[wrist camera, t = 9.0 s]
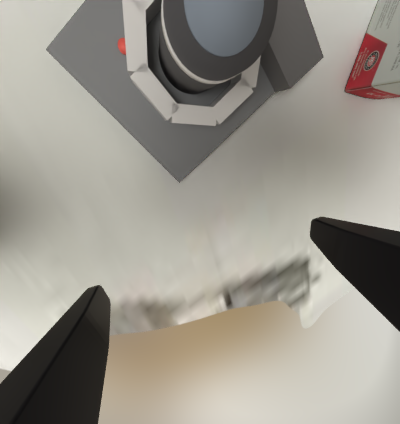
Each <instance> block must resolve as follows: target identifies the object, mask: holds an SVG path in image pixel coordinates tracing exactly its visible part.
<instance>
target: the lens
mask: <svg viewBox="0 0 400 424" xmlns="http://www.w3.org/2000/svg"><path fill="white" fill-rule="evenodd" d="M277 7H278V0H162V4H161V27H160V37H159V49H158V52H159V61H160V65H161V68H162V71H163V73H164V75H165V77H166V78H167V80H168V81H169V82H170V83H171V85H173V86H174V87H175V88H176V89H178V90H179V91H181V92H183V93H187V94H199V93H202V92H204V91H206V90H208V89H210V88H212V87H214V86H216V85H218V84H220V83H223V82H225V81H228V80H230V79H232V78H234V77H235V76H237V75H238V74H240V73H241V72H243V71H245V70H246V69H248V68H249V67H250V66H251V65H252V64H254V63H255V62H256V60H257V59H258V58H259V57H260V56H261V54H262V53H263V51H264V50H265V48H266V46H267V44H268V42H269V40H270V37H271V35H272V32H273V29H274V25H275V20H276V15H277Z"/></svg>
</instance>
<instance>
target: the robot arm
mask: <svg viewBox="0 0 400 424" xmlns="http://www.w3.org/2000/svg"><path fill="white" fill-rule="evenodd" d="M310 237H311V239H312V241H313V242H314V243H315V244H316V246H317V247H318V248H319V249H320V250H321V252H322V253H323V254H324V255H325V256H326V258H327V259H328V260H329V261H330V262H331V263H332V265H333V266H334V267H335V268H336V269H337V270H338V271H339V272H340V273H341V274H342V275H343V276H344V277H345V278H346V279H347V280H348V281H349V282H350V283H351V284H352V285H353V286H354V287H355V288H356V289H357V290H358V291H359V292H360V293H361V294H362V295H363V296H364V297H365V298H366V299H367V300H368V301H369V302H370V303H371V304H372V305H373V306H374V307H375V308H376V309H377V310H378V311H379V312H380V313H381V314H382V315H383V316H385V317H386V319H387V320H388V321H389V322H390V323H391V324H393V326H394V327H395V328H396V329H398V330H399V331H400V232H399V231H394V230H389V229H384V228H378V227H373V226H368V225H363V224H358V223H352V222H347V221H342V220H337V219H332V218H326V217H319V218H315V219H313V220H312V221H311V229H310ZM110 306H111V305H110V299H109V297H108V296H107V294H106V293H105V291H104V289H103V288H102V286H100V285H97V286H93V287H90V288H88V289H87V290H86V291H85V292H84V293H83V294H82V295H81V296H80V297H79V299H78V300H77V301H76V302H75V303H74V304H73V305H72V306H71V307H70V308H69V309H68V311H67V312H66V313H65V314H64V315H63V316H62V317H61V318H60V319H59V320H58V321H57V323H56V324H55V325H54V326H53V327H52V328H51V329H50V330H49V331H48V332H47V333H46V335H45V336H44V337H43V338H42V339H41V340H40V341H39V342H38V343H37V344H36V345H35V347H34V348H33V349H32V350H31V351H30V352H29V353H28V354H27V355H26V356H25V357H24V358H23V360H22V361H21V362H20V363H19V364H18V365H17V366H16V367H15V368H14V369H13V370H12V372H11V373H10V374H9V375H8V376H7V377H6V378H5V379H4V380H3V381H2V382H1V384H0V424H98V418H99V411H100V405H101V398H102V391H103V384H104V377H105V370H106V363H107V356H108V349H109V332H110Z"/></svg>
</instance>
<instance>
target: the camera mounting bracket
mask: <svg viewBox="0 0 400 424" xmlns="http://www.w3.org/2000/svg"><path fill="white" fill-rule="evenodd" d="M161 4H162V0H85V1H84V3H83V4H82V5H81V6H80V8H79V9H78V10H77V11H76V13H75V14H74V15H73V16H72V18H71V19H70V20H69V21H68V23H67V24H66V25H65V26H64V27H63V29H62V30H61V31H60V32H59V34H58V35H57V36H56V37H55V39H54V40H53V41H52V42H51V44H50V45H49V46H48V47H47V49H46V50H47V51H48V52H49V53H50V54H51V55H52V56H53V57H54V58H55V59H56V60H57V61H58V62H59V63H60V64H61V65H62V66H63V67H64V68H65V69H66V70H67V71H68V72H69V73H70V74H71V75H72V76H73V77H74V78H75V79H76V80H77V81H78V82H79V83H80V84H81V85H82V86H83V87H84V88H85V89H86V90H87V91H88V92H89V93H90V94H91V95H92V96H93V97H94V98H95V99H96V100H97V101H98V102H99V103H100V104H101V105H102V106H103V107H104V108H105V109H106V110H107V111H108V112H109V113H110V114H111V115H112V116H113V117H114V118H115V119H116V120H117V121H118V122H119V123H120V124H121V125H122V126H123V127H124V128H125V129H126V130H127V131H128V132H129V133H130V134H131V135H132V136H133V137H134V138H135V139H136V140H137V141H138V142H139V143H140V144H141V145H142V146H143V147H144V148H145V149H146V150H147V151H148V152H149V153H150V154H151V155H152V156H153V157H154V158H155V159H156V160H157V161H158V162H159V163H160V164H161V165H162V166H163V167H164V168H165V169H166V170H167V171H168V172H169V173H170V174H171V175H172V176H173V177H174V178H175V179H176V180H177V181H178V182H179V183H180V182H181V181H182V180H183V179H184V178H185V177H186V176H187V175H188V174H189V173H190V172H191V171H192V170H193V169H194V168H195V167H196V166H198V165H199V164H200V163H201V162H202V161H203V160H204V159H205V158H206V157H207V156H208V155H209V154H210V153H211V152H212V151H213V150H214V149H215V148H216V147H218V146H219V145H220V144H221V143H222V142H223V141H224V140H225V139H226V138H227V137H228V136H229V135H230V134H231V133H232V132H233V131H234V130H235V129H236V128H237V127H239V126H240V125H241V124H242V123H243V122H244V121H245V120H246V119H247V118H248V117H249V116H250V115H251V114H252V113H253V112H254V111H255V110H256V109H257V108H258V107H260V106H261V105H262V104H263V103H264V102H265V101H266V100H267V99H268V98H269V97H270V96H271V95H272V94H273V93H274V92H277V91H281V90H285V89H290V88H291V87H292V86H293V85H294V84H295V83H297V82H298V81H299V80H300V79H301V78H302V77H303V76H304V75H305V74H306V73H307V72H308V71H309V70H310V69H311V68H312V67H314V66H315V65H316V64H317V63H318V62H319V61H320V60H321V59H322V58H323V54H322V51H321V48H320V45H319V42H318V40H317V37H316V34H315V31H314V28H313V25H312V22H311V19H310V17H309V14H308V11H307V8H306V5H305V2H304V0H278V7H277V15H276V20H275V25H274V29H273V32H272V35H271V37H270V40H269V42H268V44H267V46H266V48H265V50H264V51H263V53H262V54H261V56H260V57H259V58H258V59H257V60H256V62H255V63H254V64H252V65H251V66H250V67H249V68H248V69H246V70H245V71H243V72H241V73H240V74H238V75H237V76H235V77H234V78H232V79H230V80H228V81H225V82H223V83H220V84H218V85H216V86H214V87H212V88H210V89H208V90H206V91H204V92H202V93H199V94H187V93H183V92H181V91H179V90H178V89H176V88H175V87H174V86H173V85H171V83H170V82H169V81H168V80H167V78H166V77H165V75H164V73H163V71H162V68H161V65H160V61H159V52H158V49H159V37H160V27H161Z"/></svg>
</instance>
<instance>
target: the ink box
mask: <svg viewBox="0 0 400 424" xmlns="http://www.w3.org/2000/svg"><path fill="white" fill-rule="evenodd" d="M345 92H347V93H351V94H354V95H358V96H361V97H366V98H371V99H385V98H394V97H400V0H378V3H377V5H376V8H375V11H374V13H373V16H372V19H371V22H370V24H369V27H368V29H367V32H366V34H365V37H364V40H363V43H362V45H361V48H360V51H359V53H358V56H357V59H356V61H355V64H354V67H353V69H352V72H351V74H350V77H349V80H348V83H347V85H346V88H345Z"/></svg>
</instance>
